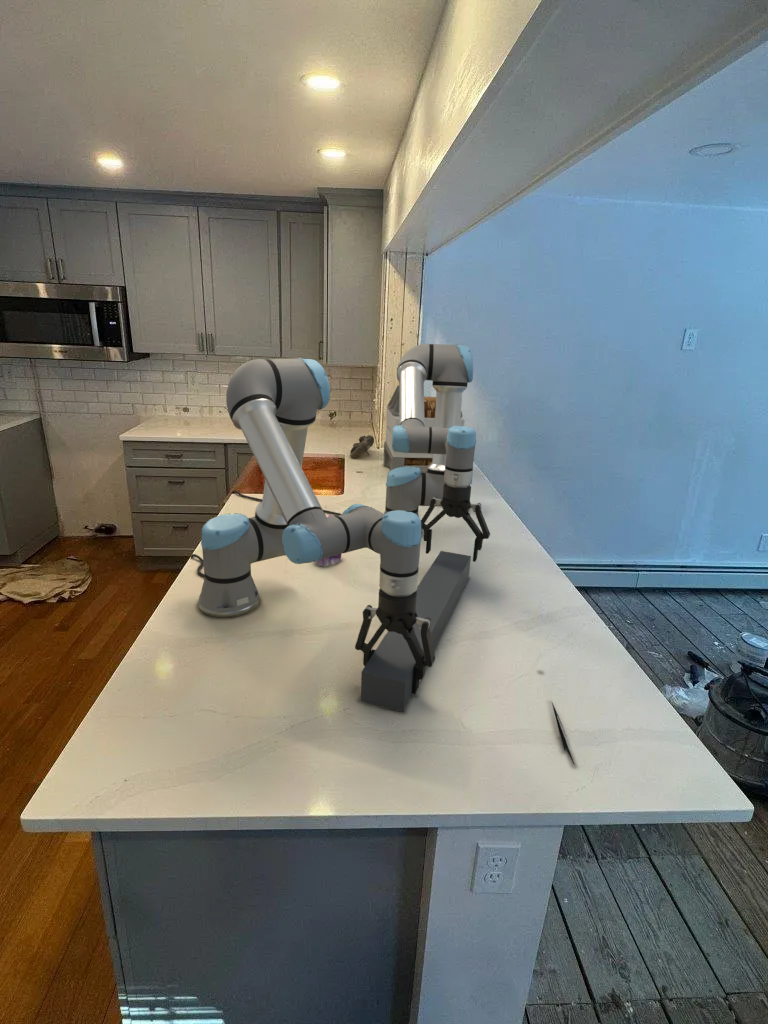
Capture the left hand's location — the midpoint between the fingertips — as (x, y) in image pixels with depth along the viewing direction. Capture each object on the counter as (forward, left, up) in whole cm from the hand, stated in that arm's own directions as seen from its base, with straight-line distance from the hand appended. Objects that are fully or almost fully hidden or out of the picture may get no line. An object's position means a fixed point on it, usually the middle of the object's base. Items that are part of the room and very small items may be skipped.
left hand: (392, 684), depth 119 cm
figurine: (-52, +37, -1) cm, 64 cm away
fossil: (-131, +148, -1) cm, 198 cm away
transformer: (-88, +141, -1) cm, 166 cm away
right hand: (-16, +48, +9) cm, 52 cm away
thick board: (-8, +24, -1) cm, 26 cm away
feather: (+30, +14, -1) cm, 33 cm away
